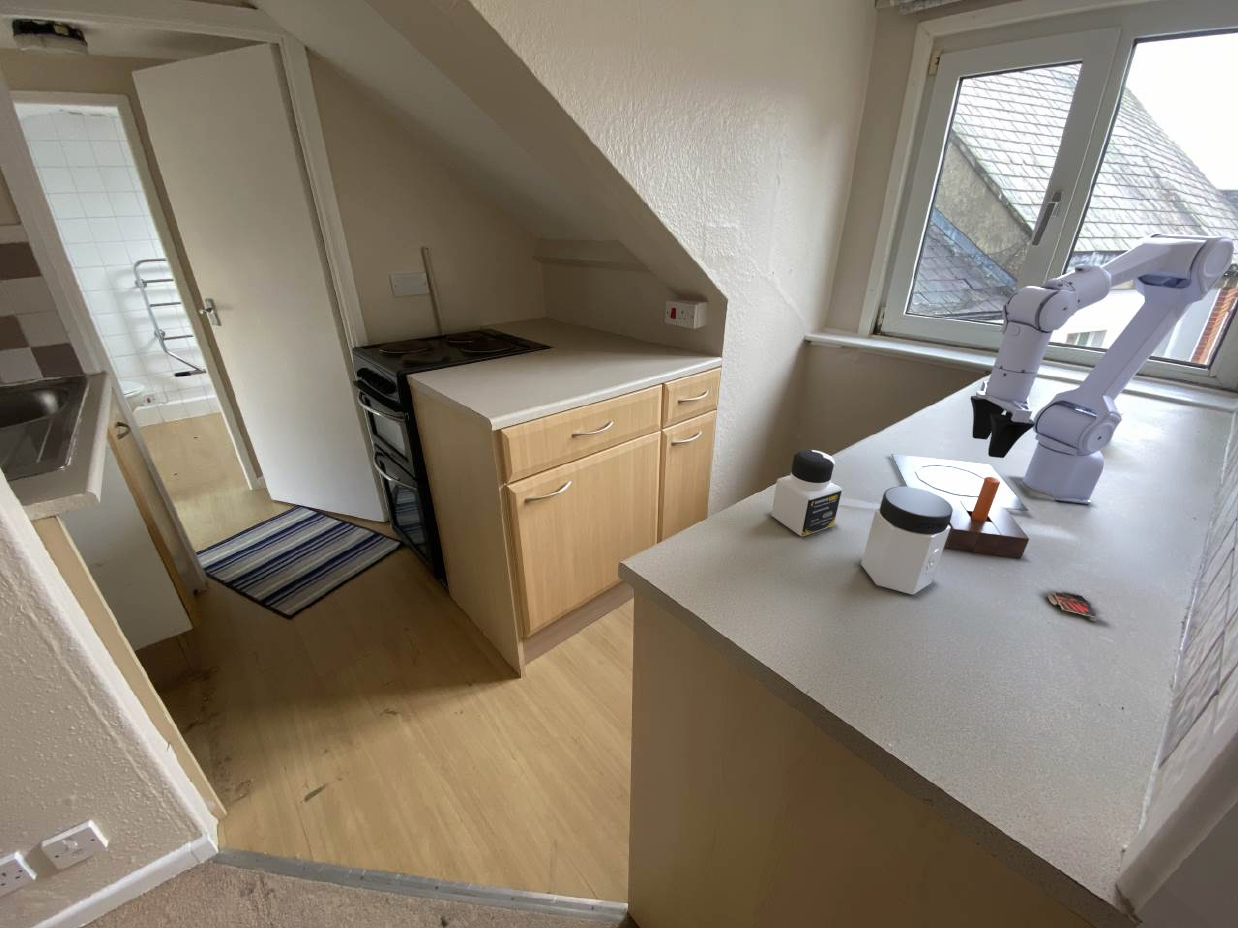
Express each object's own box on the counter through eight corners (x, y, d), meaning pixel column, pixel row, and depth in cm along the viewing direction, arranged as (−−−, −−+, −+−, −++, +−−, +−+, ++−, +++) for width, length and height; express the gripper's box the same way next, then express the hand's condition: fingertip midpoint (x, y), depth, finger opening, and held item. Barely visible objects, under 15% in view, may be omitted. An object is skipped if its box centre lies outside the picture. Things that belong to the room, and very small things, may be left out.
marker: (977, 532, 84) (997, 477, 80) (981, 539, 82) (1003, 483, 78) (963, 530, 84) (983, 475, 80) (967, 537, 83) (987, 481, 78)
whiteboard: (988, 469, 105) (990, 464, 104) (1026, 515, 89) (1029, 510, 88) (890, 458, 108) (891, 453, 108) (910, 501, 93) (912, 495, 92)
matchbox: (1079, 595, 71) (1080, 592, 70) (1105, 622, 66) (1107, 619, 66) (1041, 591, 71) (1042, 589, 71) (1065, 618, 67) (1066, 615, 66)
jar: (904, 602, 69) (930, 525, 64) (850, 569, 75) (869, 496, 70) (941, 579, 73) (967, 505, 68) (886, 550, 79) (907, 479, 74)
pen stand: (995, 523, 87) (1003, 504, 85) (1021, 558, 78) (1029, 539, 76) (929, 514, 89) (935, 496, 87) (946, 548, 80) (953, 528, 79)
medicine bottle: (801, 537, 82) (815, 469, 77) (770, 515, 88) (780, 450, 82) (834, 526, 85) (850, 459, 80) (801, 506, 91) (814, 442, 85)
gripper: (971, 354, 90) (948, 428, 96) (1004, 379, 77) (975, 462, 83) (1018, 357, 88) (991, 432, 94) (1060, 383, 76) (1026, 468, 82)
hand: (987, 447), depth 89 cm, fingers open, 7 cm apart
